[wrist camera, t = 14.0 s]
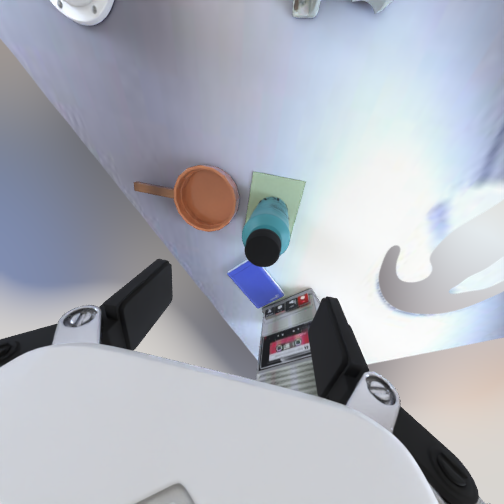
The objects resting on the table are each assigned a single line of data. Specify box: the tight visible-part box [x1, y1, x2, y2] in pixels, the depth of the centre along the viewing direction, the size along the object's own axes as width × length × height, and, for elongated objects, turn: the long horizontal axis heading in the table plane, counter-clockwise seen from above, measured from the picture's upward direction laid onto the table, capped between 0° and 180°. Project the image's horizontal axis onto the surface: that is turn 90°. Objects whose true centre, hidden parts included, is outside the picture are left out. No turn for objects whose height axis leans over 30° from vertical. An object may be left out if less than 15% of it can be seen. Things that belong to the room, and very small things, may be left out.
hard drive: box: [227, 259, 284, 308], centre depth 45 cm, size 2×8×12 cm
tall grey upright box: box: [256, 289, 320, 397], centre depth 37 cm, size 14×6×25 cm, turn 124°
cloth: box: [245, 172, 306, 236], centre depth 38 cm, size 10×13×1 cm
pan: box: [174, 165, 240, 232], centre depth 37 cm, size 12×12×4 cm
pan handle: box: [134, 182, 174, 199], centre depth 37 cm, size 8×2×1 cm, turn 80°
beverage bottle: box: [242, 196, 290, 267], centre depth 29 cm, size 6×7×20 cm
